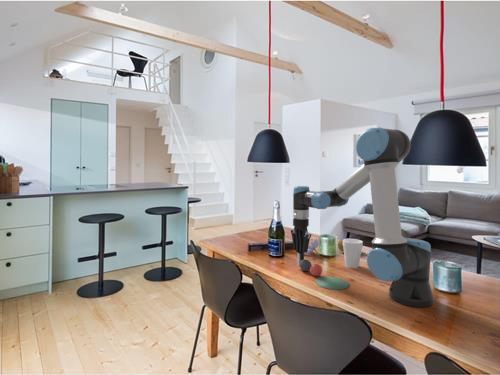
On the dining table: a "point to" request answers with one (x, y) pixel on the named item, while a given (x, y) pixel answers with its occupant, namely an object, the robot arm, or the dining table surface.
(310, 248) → the water lily
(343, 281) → the green mark
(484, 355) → the dining table surface
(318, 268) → the red ball
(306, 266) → the dark gray ball
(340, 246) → the potato
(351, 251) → the foam cup
